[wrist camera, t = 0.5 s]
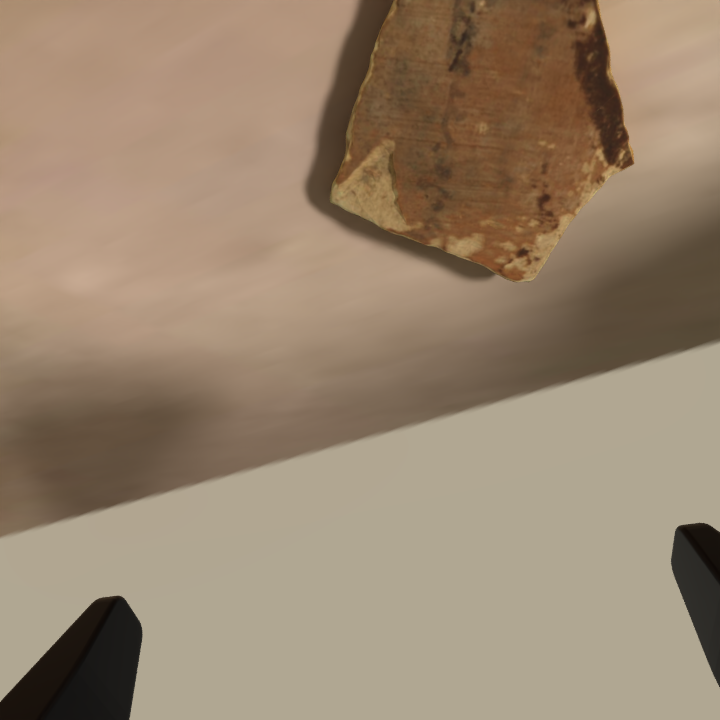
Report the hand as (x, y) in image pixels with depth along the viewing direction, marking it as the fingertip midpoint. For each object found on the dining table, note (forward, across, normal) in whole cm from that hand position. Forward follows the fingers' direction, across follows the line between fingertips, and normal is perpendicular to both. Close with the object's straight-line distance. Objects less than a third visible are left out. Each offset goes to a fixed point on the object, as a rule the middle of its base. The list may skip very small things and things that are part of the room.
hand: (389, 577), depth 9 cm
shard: (+12, -3, -6) cm, 13 cm away
